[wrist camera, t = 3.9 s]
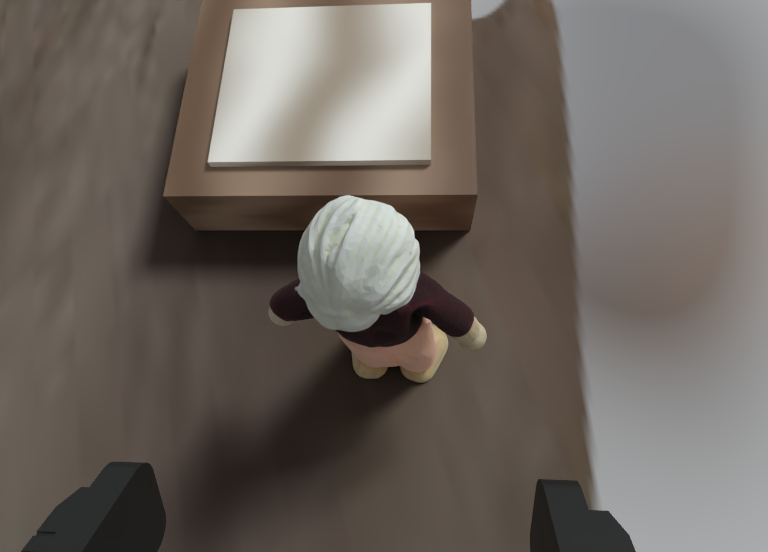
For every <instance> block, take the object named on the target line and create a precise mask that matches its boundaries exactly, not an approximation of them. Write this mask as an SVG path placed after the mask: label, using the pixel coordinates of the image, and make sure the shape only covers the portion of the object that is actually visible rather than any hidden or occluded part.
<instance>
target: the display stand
mask: <svg viewBox="0 0 768 552" xmlns="http://www.w3.org/2000/svg"><path fill="white" fill-rule="evenodd" d="M346 195H350V196H354V197H358V198H362V199H365V200H373V201H377V202H381V203H385V204H387V205H391V206H392V207H393V208H394V209H395V210H396V212H398V213H399V214H401V215H403V216H404V217H405V218H406V219H407V220H408V222H409V223H410V225H411V226H412V228H413V230H470V229H471V224H472V219H473V214H474V209H475V204H476V199H477V166H476V136H475V106H474V76H473V46H472V17H471V0H202V3H201V8H200V13H199V18H198V23H197V28H196V33H195V38H194V43H193V48H192V53H191V58H190V63H189V68H188V73H187V78H186V83H185V88H184V93H183V98H182V103H181V108H180V113H179V118H178V123H177V128H176V133H175V138H174V143H173V148H172V153H171V158H170V163H169V168H168V173H167V178H166V183H165V188H164V193H163V197H164V198H165V199H166V200H167V201H168V202H169V203H170V204H171V205H172V206H173V207H174V209H175V210H176V211H177V212H178V213H179V214H180V215H181V216H182V217H183V218H184V219H185V220H186V221H187V222H188V223H189V224H190V225H191V226H192V227H193V228H194V230H306V228H307V227H308V225H309V224H310V222H311V221H312V220H313V218H314V216H315V215H316V213H317V212H318V211H319V210H320V209H322V208H323V207H324V206H325V205H326V204H327V203H329V202H330V201H333V200H335V199H337V198H339V197H342V196H346Z"/></svg>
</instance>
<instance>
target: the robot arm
mask: <svg viewBox="0 0 768 552" xmlns="http://www.w3.org/2000/svg"><path fill="white" fill-rule="evenodd" d="M165 526H166V515H165V510H164V507H163V503H162V499H161V496H160V492H159V489H158V485H157V482H156V478H155V474H154V471H153V468H152V466H151V465H150V464H149V463H135V462H111V463H109V464H108V465H106V466H105V467H104V469H103V470H102V471H101V473H100V474H99V475H98V477H97V478H96V479H95V481H94V482H93V483H92V485H91V486H90V487H81V488H80V489H78V490H77V491H76V492H75V493H73V494H72V495H71V496H69V497H68V498H67V499H66V500H64V501H63V502H62V503H60V504H59V505H58V506H57V507H56V508H55V509H54V510H53V511H52V513H51V514H50V515H49V516H48V518H47V519H46V520H45V522H44V523H43V524H42V525H41V527H40V528H39V529H38V530H37V535H36V536H33V537H32V538H31V539H30V541H29V542H28V543H27V544H26V546H25V547H24V548H23V550H22V551H21V552H157V551H158V549H159V547H160V545H161V542H162V539H163V536H164V532H165ZM530 551H531V552H636V551H635V549H634V547H633V544H632V541H631V539H630V536H629V535H628V533H627V532H626V531H625V530H624V529H623V528H622V526H621V525H620V524H619V523H618V522H617V521H616V520H615V518H614V517H613V516H612V515H611V514H610V513H609V511H597V510H589V509H588V506H587V503H586V500H585V498H584V495H583V492H582V489H581V486H580V484H579V483H578V482H577V481H571V480H545V479H539V480H538V481H537V485H536V492H535V500H534V507H533V515H532V523H531V531H530Z"/></svg>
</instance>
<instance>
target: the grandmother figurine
mask: <svg viewBox="0 0 768 552" xmlns="http://www.w3.org/2000/svg"><path fill="white" fill-rule="evenodd" d="M419 255H420V248H419V242H418V241H417V240H416V239H415V235H414V230H413V228H412V226H411V225H410V223H409V222H408V220H407V219H406V218H405V217H404V216H403V215H401V214H399V213H398V212H396V210H395V209H394V208H393V207H392V206H391V205H387V204H385V203H381V202H377V201H373V200H365V199H362V198H358V197H354V196H350V195H346V196H342V197H339V198H337V199H335V200H333V201H330V202H329V203H327V204H326V205H325V206H324V207H323V208H322V209H320V210H319V211H318V212H317V213H316V215H315V216H314V218H313V220H312V221H311V222H310V224H309V225H308V227H307V228H306V230H305V231H304V233H303V235H302V238H301V240H300V244H299V249H298V256H297V260H298V263H297V270H298V275H299V278H298V279H296V280H294V281H293V282H291V283H289V284H288V285H286V286H284V287H282V288H281V289H279V290H278V291H277V292H275V293H274V295H273V296H272V298H271V300H270V307H269V311H268V312H269V317H270V319H271V320H272V321H273V322H274V323H275V324H277V325H280V326H286V325H289V324H291V323H292V322H293V321H297V320H304V319H310V318H315V319H316V320H317V321H318V322H319V323H320V324H321V325H322V326H324V327H326V328H328V329H332V330H336V331H337V332H338V334H339V336H340V338H341V340H342V341H343V342H344V343H345V345H346V346H347V347H348V348H349V349H350V350H351V352H352V361H353V368H354V371H355V372H356V374H357V375H359V376H360V377H362V378H366V379H375V378H379V377H381V376H382V375H383V374H384V373H385V372H386V370H387V368H388V367H395V366H400V369H401V372H402V374H403V375H404V376H405V377H406V378H407V379H409V380H412V381H414V382H419V383H421V382H426V381H428V380H430V379H431V378H432V377H433V375H434V374H435V372H436V370H437V368H438V366H439V365H440V363H441V361H442V359H443V357H444V355H445V353H446V351H447V348H448V339H447V336H446V334H448V335H450V336H452V337H453V338H454V339H455V340H456V341H458V342H459V344H460V345H461V346H462V347H463V348H465V349H467V350H470V351H474V350H478V349H480V348H481V347H482V346H483V345H484V343H485V341H486V338H487V335H486V331H485V329H484V327H483V326H482V325H481V324H480V323H479V322H478V321H477V319H476V318H475V317H474V314H473V312H472V310H471V309H470V308H469V307H468V306H467V305H466V304H465V303H463V302H462V301H461V300H459V299H457V298H456V297H454V296H453V295H451V294H450V293H448V292H447V291H446V290H445V289H444V288H443V287H442V286H441V285H439V284H438V283H437V282H436V281H435V280H433V279H432V278H430V277H429V276H427V275H426V274H424V273H422V272H420V261H419ZM431 321H432V322H433V323H434V324H435V325H436V326H435V325H433V324H432V323H431ZM444 332H445V333H446V334H445V333H444Z"/></svg>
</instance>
